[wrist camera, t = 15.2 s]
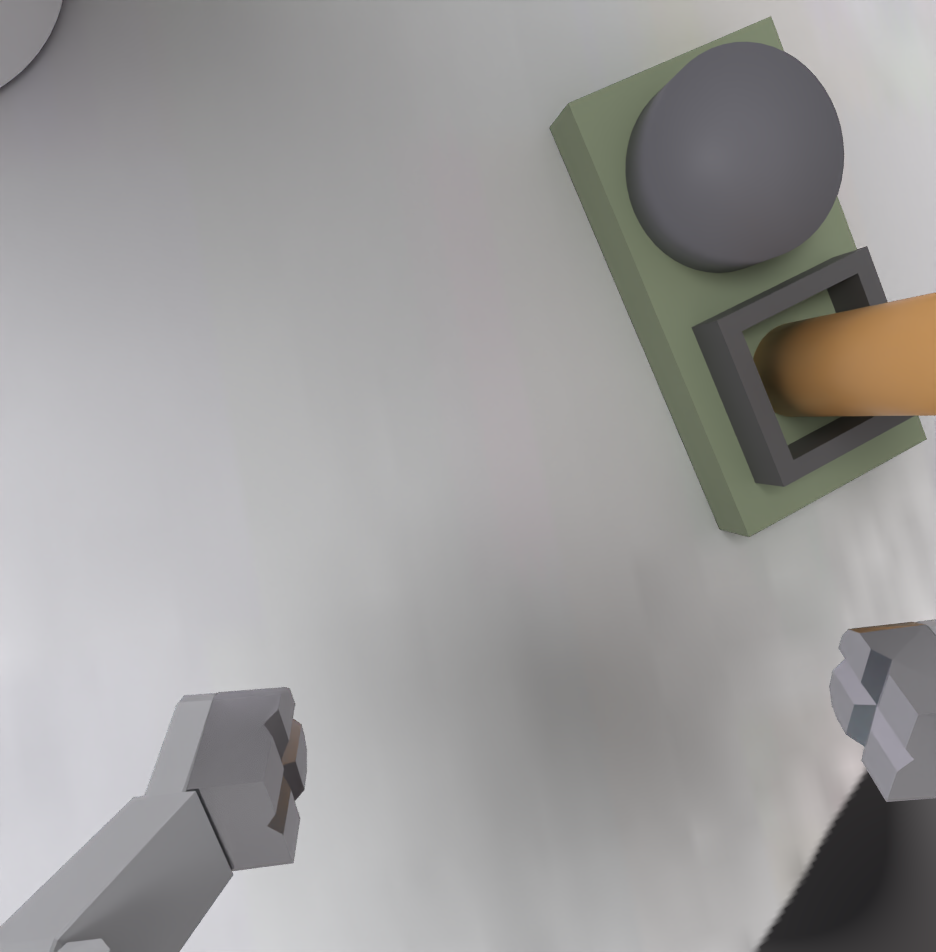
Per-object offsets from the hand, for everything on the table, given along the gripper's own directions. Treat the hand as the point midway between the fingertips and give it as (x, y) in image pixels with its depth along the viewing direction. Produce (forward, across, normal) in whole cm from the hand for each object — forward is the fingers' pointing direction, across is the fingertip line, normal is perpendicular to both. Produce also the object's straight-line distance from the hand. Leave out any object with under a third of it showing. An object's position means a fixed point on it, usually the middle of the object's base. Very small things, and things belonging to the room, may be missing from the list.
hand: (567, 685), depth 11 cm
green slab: (+32, -15, +6) cm, 36 cm away
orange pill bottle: (+28, -17, +9) cm, 34 cm away
